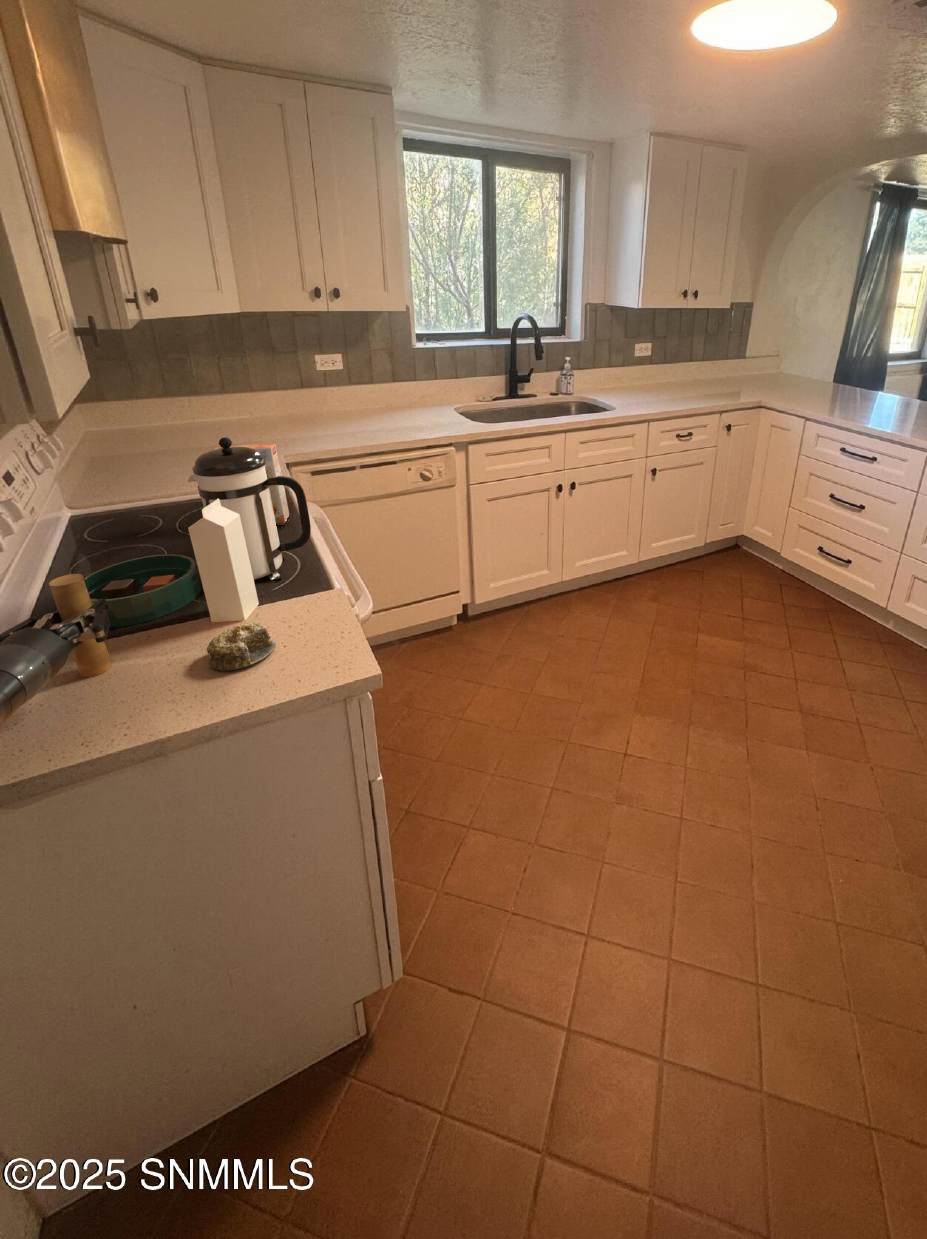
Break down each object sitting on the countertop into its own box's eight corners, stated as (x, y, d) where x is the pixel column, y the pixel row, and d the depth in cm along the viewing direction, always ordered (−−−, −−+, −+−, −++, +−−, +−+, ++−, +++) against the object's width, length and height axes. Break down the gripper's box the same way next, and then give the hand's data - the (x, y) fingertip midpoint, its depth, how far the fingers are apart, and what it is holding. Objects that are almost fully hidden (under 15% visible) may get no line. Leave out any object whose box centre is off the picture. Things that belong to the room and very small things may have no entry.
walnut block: (106, 609, 109) (100, 590, 107) (117, 599, 112) (111, 580, 111) (130, 606, 110) (124, 588, 108) (140, 596, 113) (134, 578, 112)
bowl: (59, 637, 101) (48, 606, 99) (114, 585, 119) (106, 559, 117) (179, 623, 105) (171, 594, 103) (215, 575, 123) (209, 550, 121)
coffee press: (246, 601, 112) (213, 451, 102) (198, 583, 119) (162, 441, 109) (320, 566, 126) (296, 431, 116) (272, 552, 134) (247, 424, 123)
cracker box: (290, 518, 154) (276, 441, 147) (285, 526, 148) (270, 447, 141) (234, 523, 151) (216, 445, 144) (226, 531, 146) (208, 451, 139)
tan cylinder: (75, 679, 90) (42, 587, 84) (88, 663, 93) (58, 575, 88) (103, 675, 90) (73, 584, 85) (116, 660, 94) (88, 572, 89)
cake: (197, 677, 90) (186, 648, 89) (228, 642, 100) (219, 615, 98) (260, 670, 90) (251, 640, 89) (285, 635, 100) (277, 608, 98)
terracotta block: (148, 604, 110) (142, 586, 109) (157, 594, 114) (151, 576, 112) (171, 602, 111) (165, 583, 109) (179, 592, 115) (174, 574, 113)
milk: (259, 606, 110) (237, 497, 103) (245, 623, 104) (220, 509, 97) (227, 607, 110) (202, 498, 102) (210, 624, 104) (183, 510, 97)
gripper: (69, 638, 75) (131, 579, 91) (-59, 653, 73) (28, 589, 89) (86, 686, 78) (143, 620, 94) (-37, 702, 75) (43, 631, 91)
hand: (87, 605), depth 91 cm, fingers closed on tan cylinder, 4 cm apart
